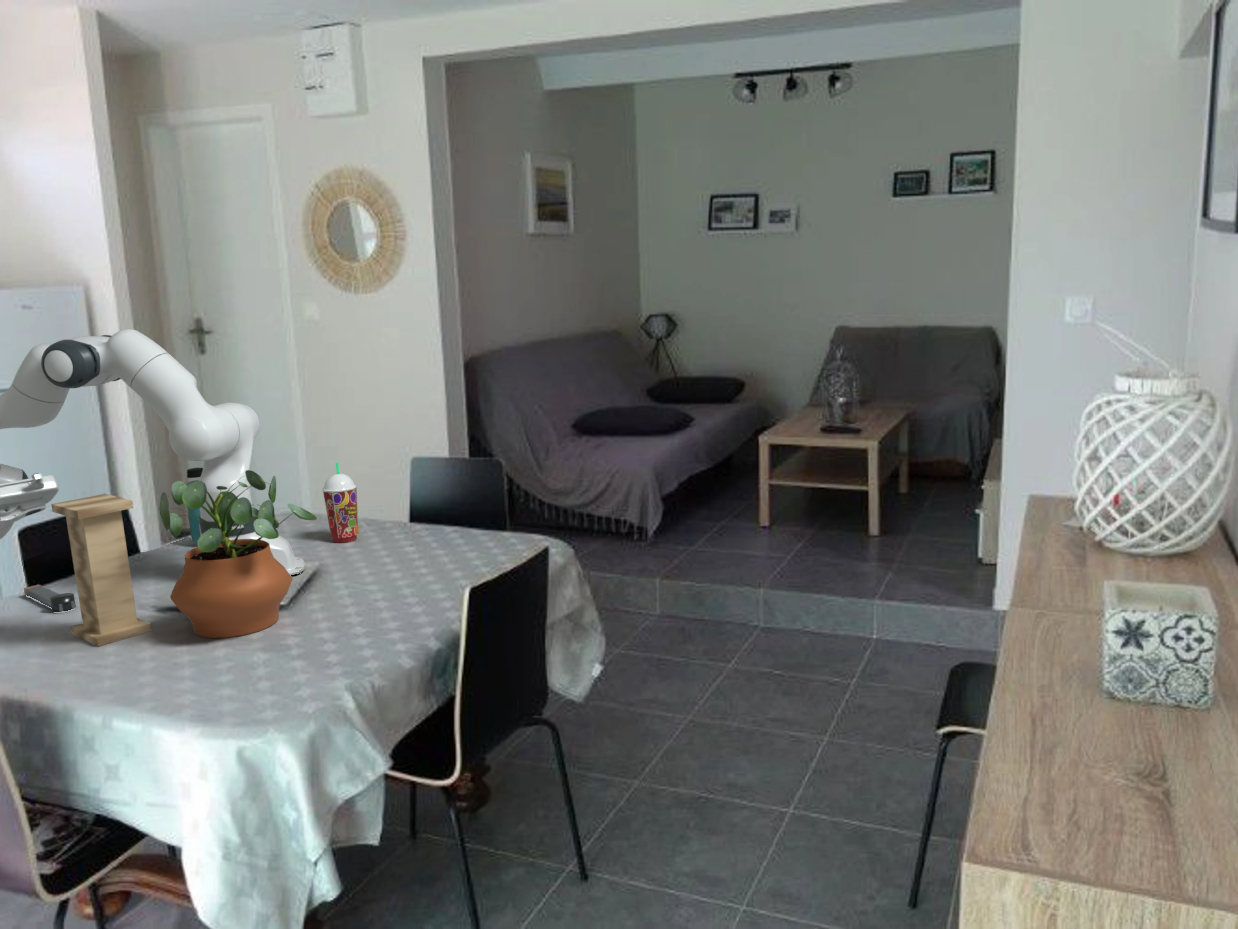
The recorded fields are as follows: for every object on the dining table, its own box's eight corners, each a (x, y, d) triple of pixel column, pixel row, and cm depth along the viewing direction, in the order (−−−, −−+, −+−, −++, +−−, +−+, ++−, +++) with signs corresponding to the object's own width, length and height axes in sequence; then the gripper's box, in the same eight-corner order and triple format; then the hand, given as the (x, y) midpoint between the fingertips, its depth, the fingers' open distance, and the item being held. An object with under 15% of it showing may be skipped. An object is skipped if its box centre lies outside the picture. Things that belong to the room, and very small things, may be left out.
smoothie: (357, 543, 258) (349, 465, 254) (324, 545, 258) (315, 466, 254) (365, 535, 266) (357, 459, 262) (333, 536, 266) (325, 460, 262)
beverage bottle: (209, 547, 261) (199, 470, 258) (186, 547, 263) (175, 471, 259) (224, 540, 268) (214, 465, 264) (201, 540, 269) (191, 465, 265)
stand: (72, 634, 200) (51, 504, 195) (124, 619, 208) (105, 493, 203) (98, 646, 192) (77, 511, 187) (151, 630, 200) (132, 500, 195)
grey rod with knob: (22, 598, 227) (19, 584, 226) (43, 592, 230) (41, 579, 229) (57, 614, 213) (54, 601, 213) (79, 609, 216) (77, 595, 216)
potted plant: (186, 612, 210) (166, 468, 204) (328, 595, 216) (313, 455, 210) (165, 651, 188) (142, 491, 182) (324, 631, 194) (306, 475, 188)
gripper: (-58, 502, 222) (-45, 476, 213) (43, 484, 238) (59, 459, 228) (-49, 528, 221) (-35, 503, 212) (52, 508, 236) (68, 484, 227)
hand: (14, 480), depth 220 cm, fingers open, 8 cm apart
